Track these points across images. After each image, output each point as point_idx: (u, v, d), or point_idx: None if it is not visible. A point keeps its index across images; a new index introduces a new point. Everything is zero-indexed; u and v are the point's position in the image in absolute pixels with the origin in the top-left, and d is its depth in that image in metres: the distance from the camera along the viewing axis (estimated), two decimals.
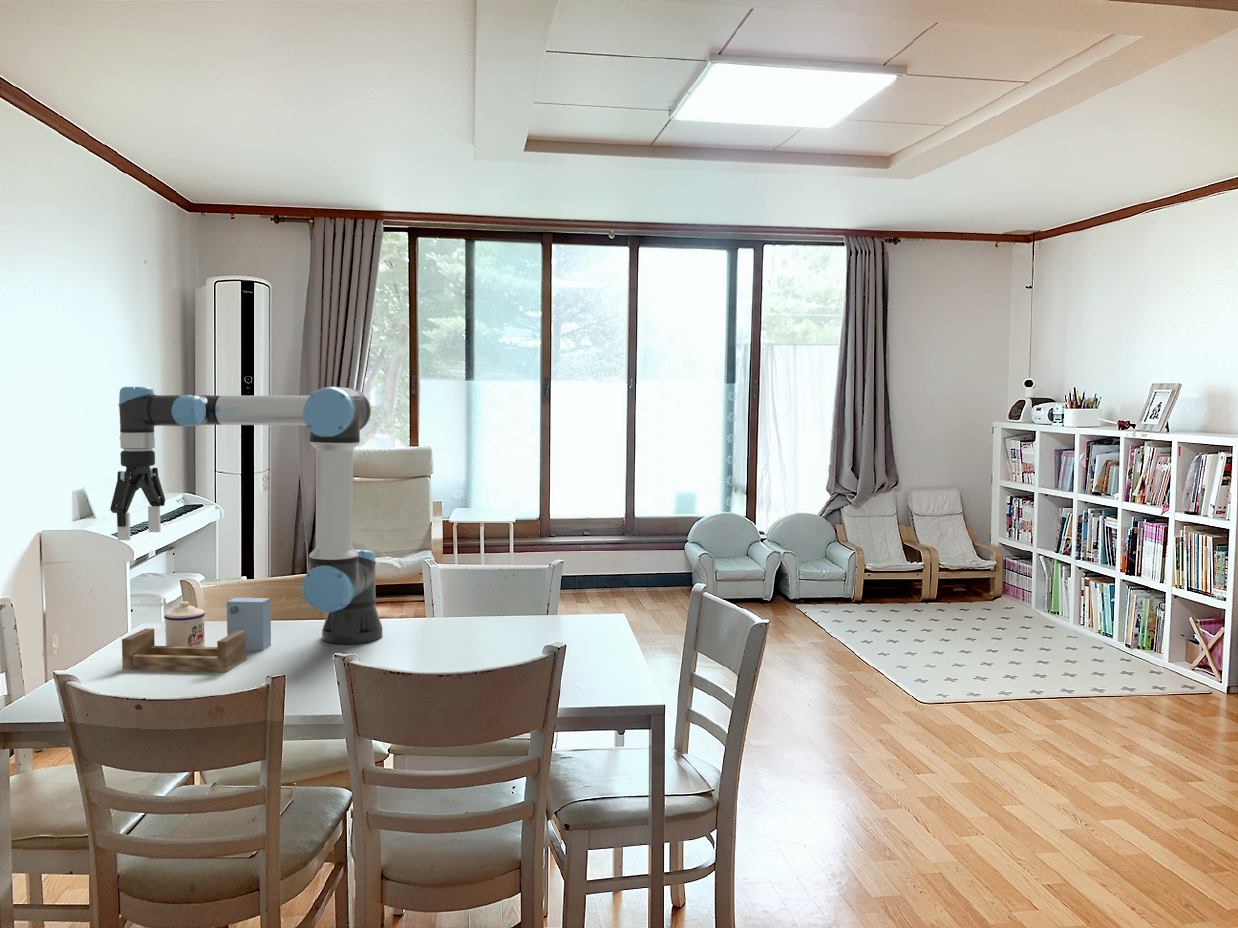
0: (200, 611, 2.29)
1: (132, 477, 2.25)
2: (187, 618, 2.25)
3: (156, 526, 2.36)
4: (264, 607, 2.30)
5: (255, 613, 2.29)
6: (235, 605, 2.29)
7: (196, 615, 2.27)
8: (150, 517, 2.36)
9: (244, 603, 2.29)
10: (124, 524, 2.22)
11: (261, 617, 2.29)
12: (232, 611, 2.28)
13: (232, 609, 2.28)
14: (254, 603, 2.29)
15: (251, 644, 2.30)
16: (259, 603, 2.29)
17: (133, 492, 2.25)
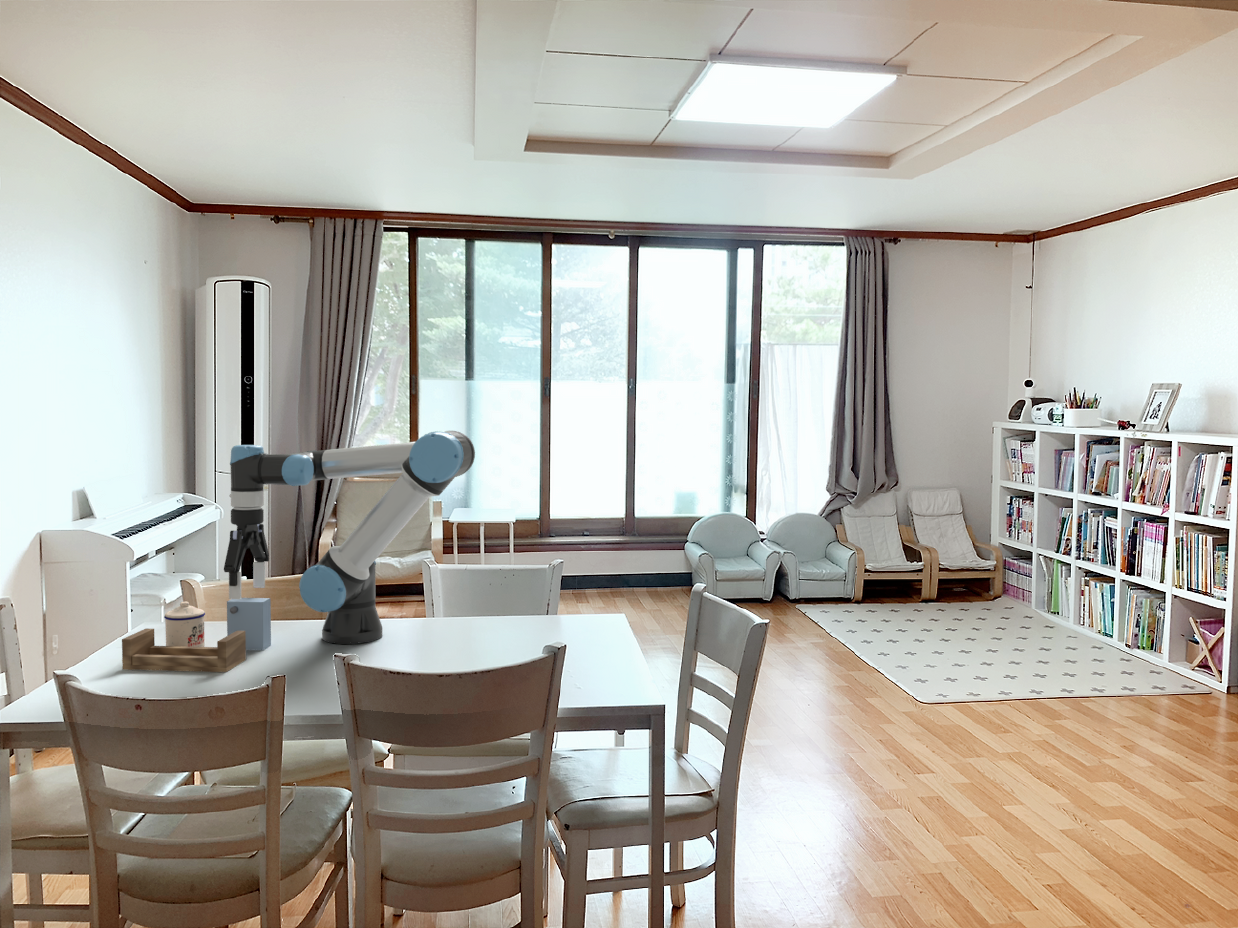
0: (200, 611, 2.29)
1: (243, 536, 2.26)
2: (187, 618, 2.25)
3: (261, 581, 2.37)
4: (265, 607, 2.30)
5: (255, 613, 2.29)
6: (235, 605, 2.29)
7: (196, 615, 2.27)
8: (256, 572, 2.37)
9: (244, 603, 2.29)
10: (236, 583, 2.23)
11: (261, 617, 2.29)
12: (232, 611, 2.28)
13: (232, 609, 2.28)
14: (254, 603, 2.29)
15: (251, 644, 2.30)
16: (259, 603, 2.29)
17: (244, 551, 2.26)
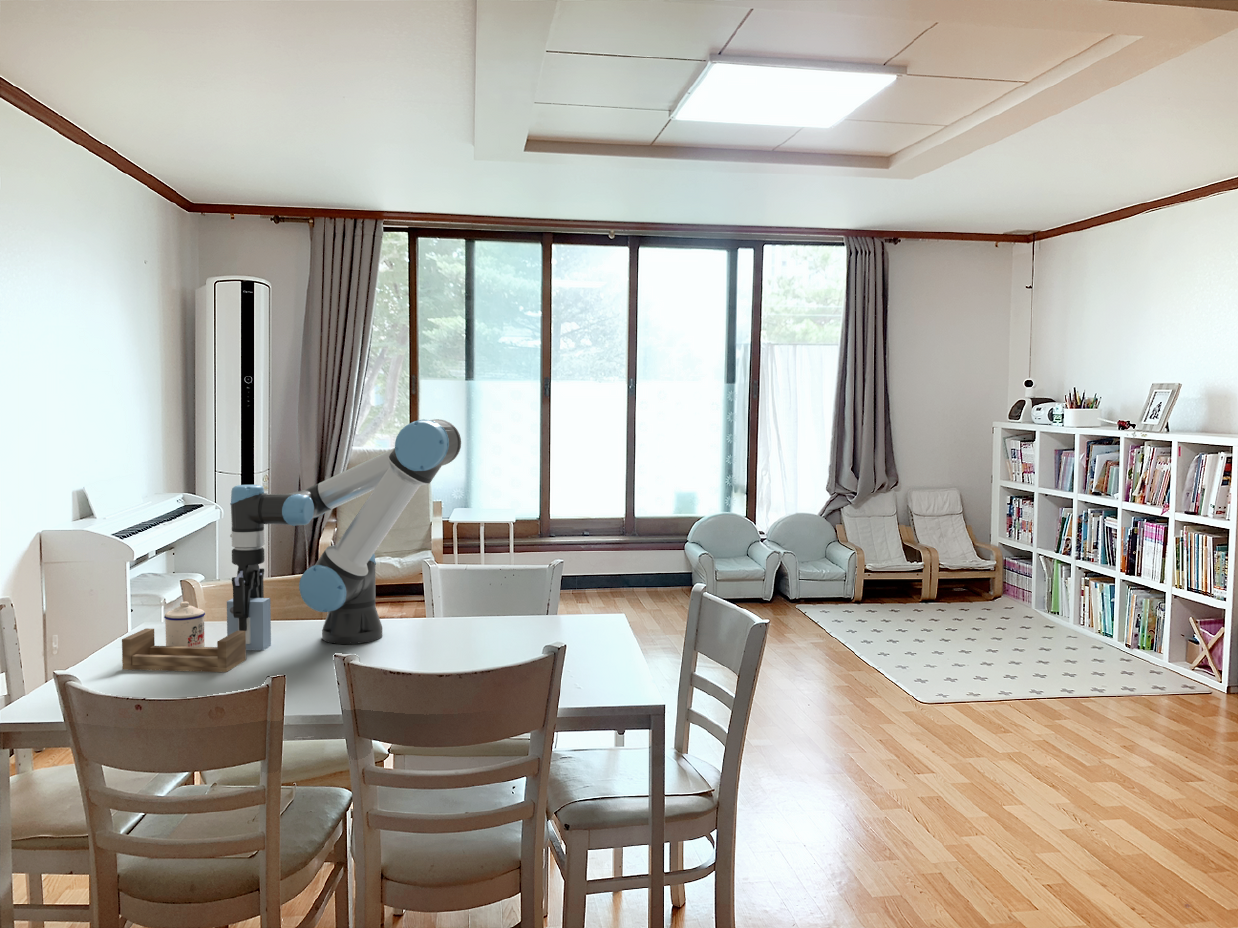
0: (200, 611, 2.29)
1: (245, 577, 2.27)
2: (187, 618, 2.25)
3: None
4: (264, 607, 2.30)
5: (255, 613, 2.29)
6: None
7: (196, 615, 2.27)
8: None
9: None
10: (245, 628, 2.28)
11: (261, 616, 2.29)
12: (232, 611, 2.28)
13: (232, 609, 2.28)
14: (254, 603, 2.29)
15: (251, 644, 2.30)
16: (259, 603, 2.29)
17: (249, 593, 2.29)
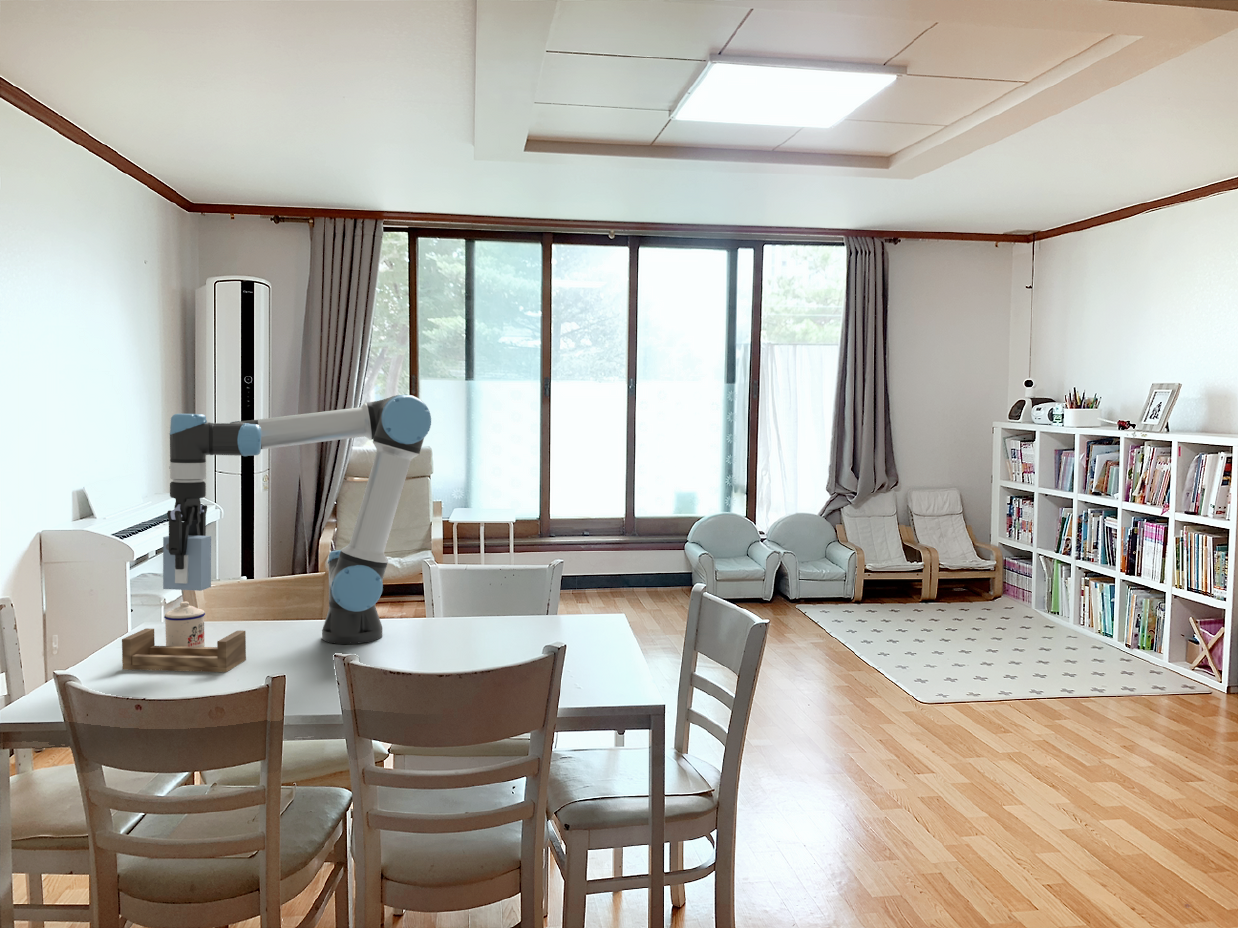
0: (200, 611, 2.29)
1: (183, 511, 2.12)
2: (187, 618, 2.25)
3: None
4: (203, 544, 2.15)
5: (193, 550, 2.14)
6: None
7: (196, 615, 2.27)
8: None
9: None
10: (182, 567, 2.13)
11: (199, 554, 2.14)
12: (168, 547, 2.13)
13: (168, 545, 2.13)
14: (192, 540, 2.14)
15: (188, 584, 2.14)
16: (197, 540, 2.13)
17: (187, 529, 2.13)
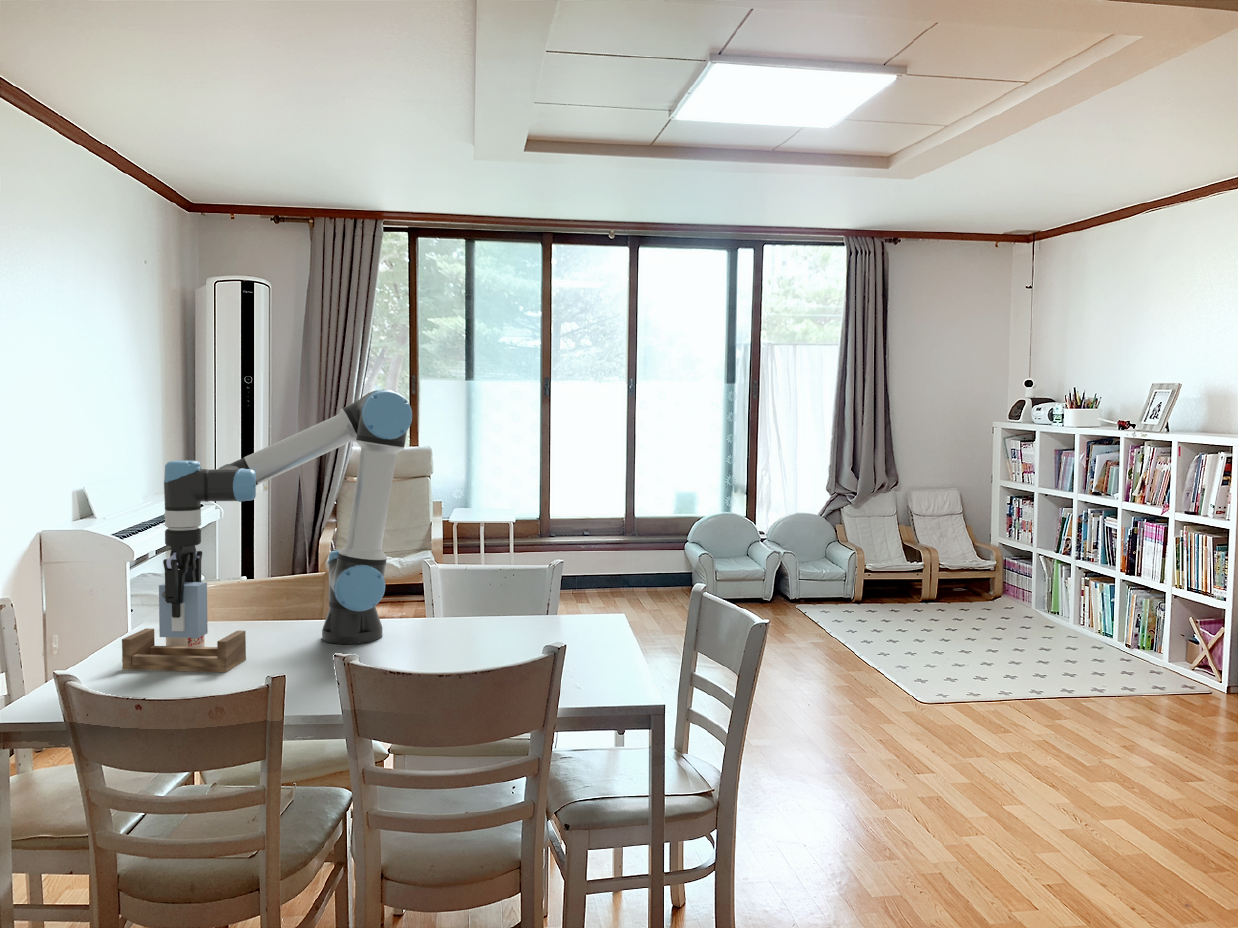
0: None
1: (178, 559, 2.11)
2: None
3: None
4: (200, 591, 2.14)
5: (190, 598, 2.13)
6: None
7: None
8: None
9: None
10: (179, 615, 2.12)
11: (195, 602, 2.13)
12: (164, 596, 2.12)
13: (164, 593, 2.12)
14: (188, 587, 2.13)
15: (185, 632, 2.13)
16: (193, 587, 2.13)
17: (183, 577, 2.12)
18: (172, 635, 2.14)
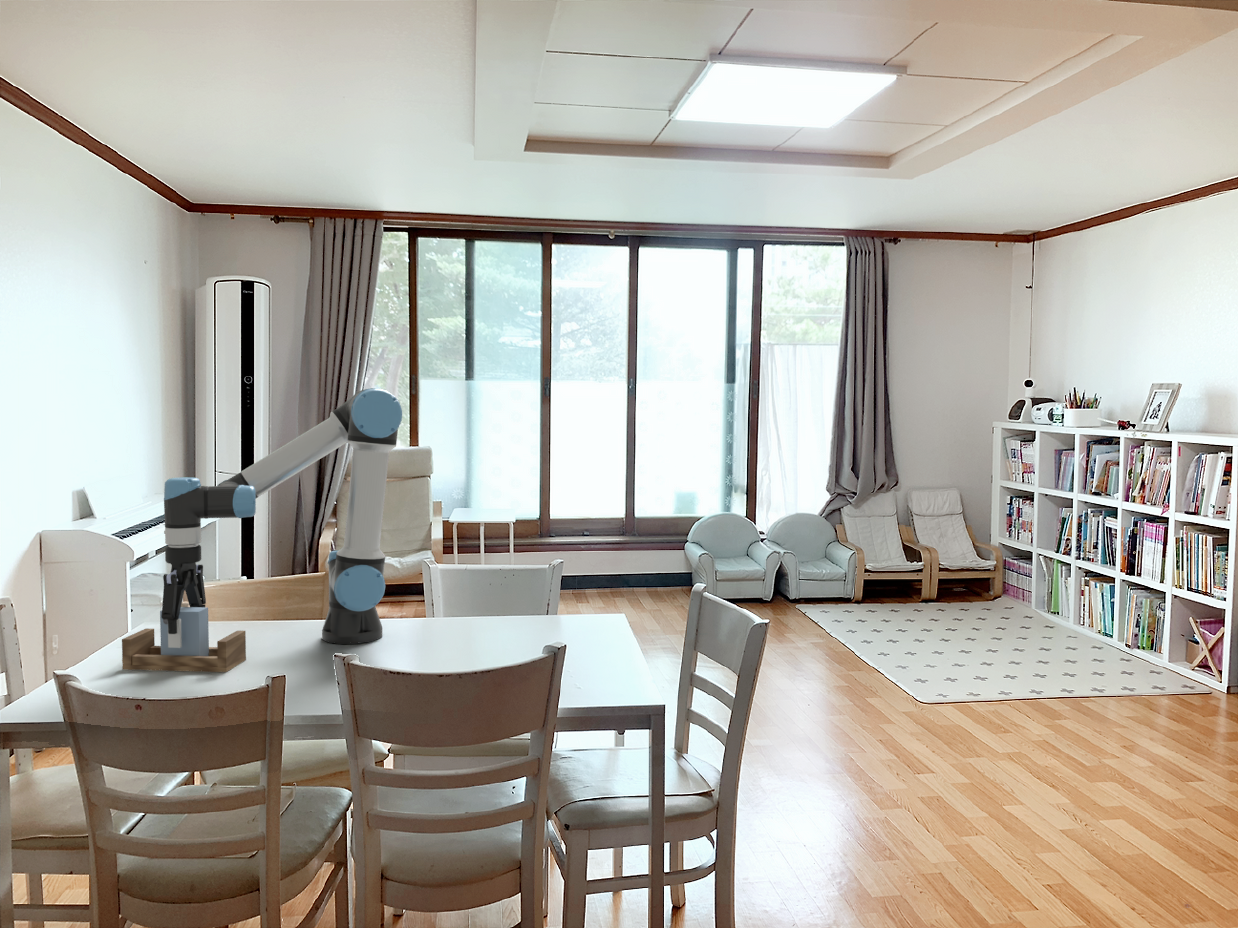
0: None
1: (178, 576, 2.11)
2: None
3: None
4: (201, 617, 2.14)
5: (191, 624, 2.13)
6: None
7: None
8: None
9: None
10: (175, 631, 2.10)
11: (196, 627, 2.13)
12: (165, 621, 2.13)
13: (165, 619, 2.13)
14: (189, 613, 2.13)
15: None
16: (195, 613, 2.13)
17: (181, 594, 2.12)
18: None
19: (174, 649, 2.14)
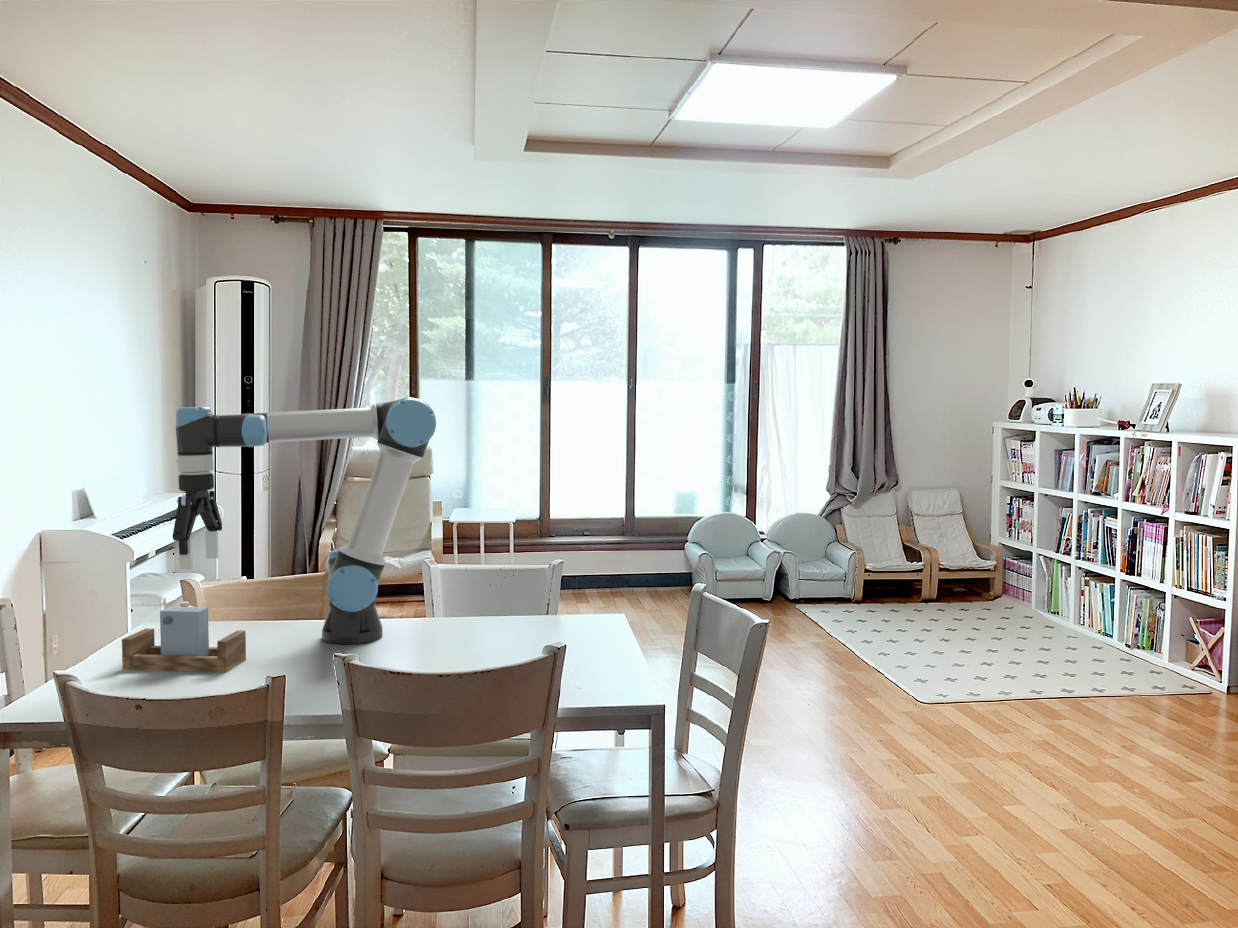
0: None
1: (192, 502, 2.14)
2: None
3: (214, 552, 2.26)
4: (201, 617, 2.14)
5: (191, 624, 2.13)
6: (169, 615, 2.13)
7: None
8: (208, 542, 2.25)
9: (179, 613, 2.13)
10: (186, 552, 2.11)
11: (196, 627, 2.13)
12: (165, 621, 2.13)
13: (165, 619, 2.13)
14: (189, 613, 2.13)
15: None
16: (195, 613, 2.13)
17: (194, 518, 2.14)
18: None
19: (174, 649, 2.14)
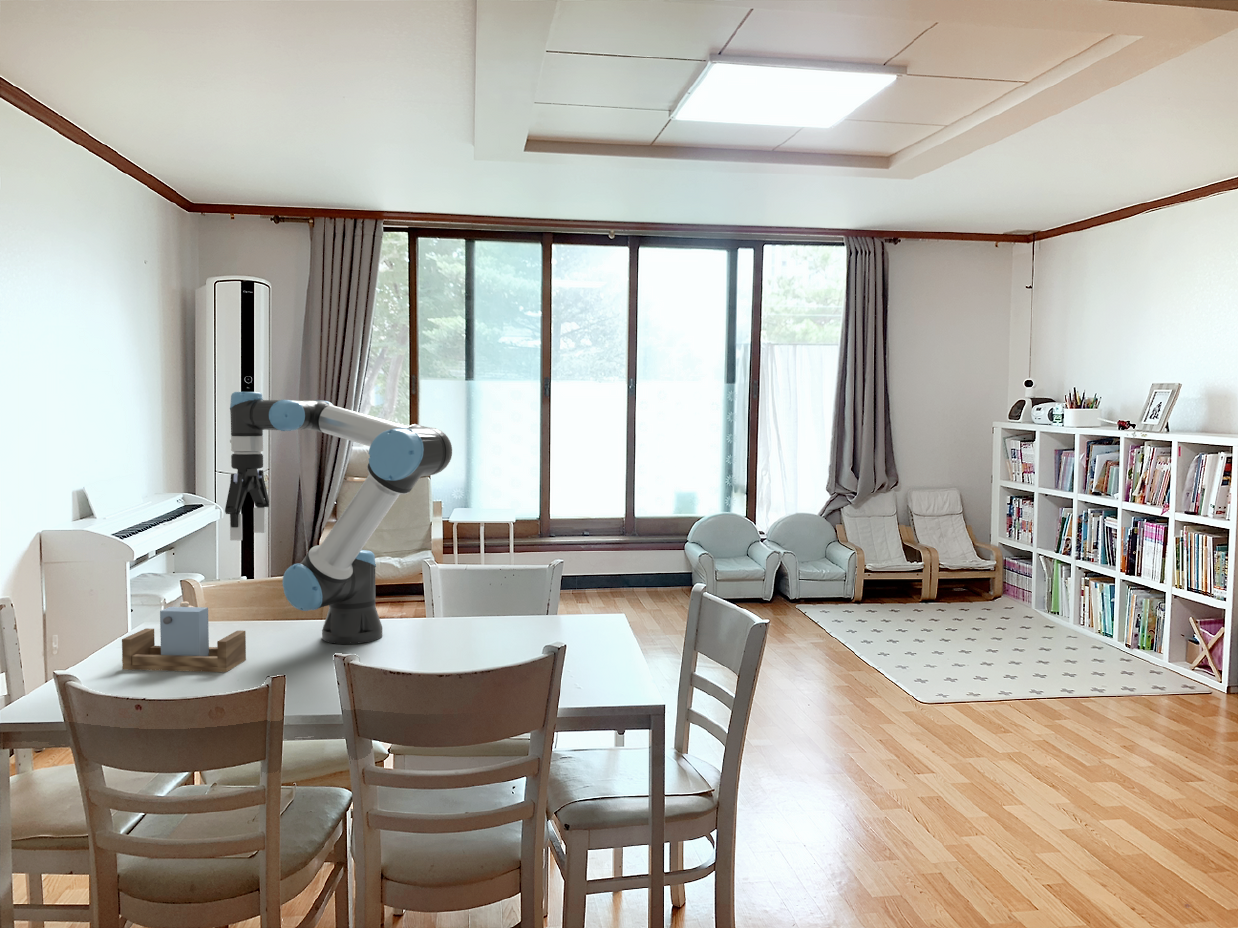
0: None
1: (243, 479, 2.32)
2: None
3: (261, 526, 2.44)
4: (201, 617, 2.14)
5: (191, 624, 2.13)
6: (169, 615, 2.13)
7: None
8: (256, 518, 2.43)
9: (179, 613, 2.13)
10: (237, 525, 2.29)
11: (196, 627, 2.13)
12: (165, 621, 2.13)
13: (165, 619, 2.13)
14: (189, 613, 2.13)
15: None
16: (195, 613, 2.13)
17: (244, 494, 2.32)
18: None
19: (174, 649, 2.14)
